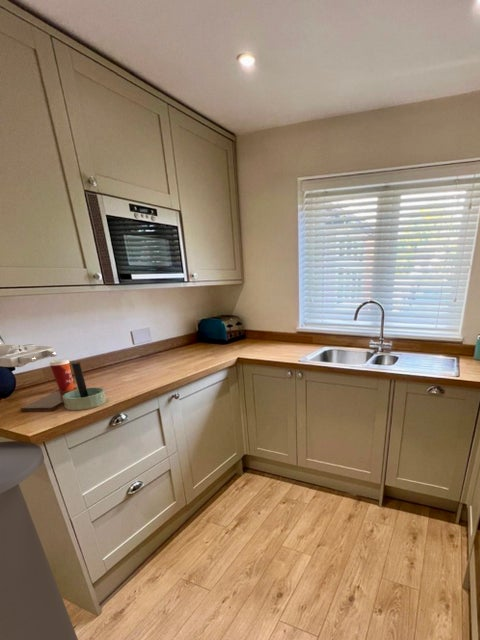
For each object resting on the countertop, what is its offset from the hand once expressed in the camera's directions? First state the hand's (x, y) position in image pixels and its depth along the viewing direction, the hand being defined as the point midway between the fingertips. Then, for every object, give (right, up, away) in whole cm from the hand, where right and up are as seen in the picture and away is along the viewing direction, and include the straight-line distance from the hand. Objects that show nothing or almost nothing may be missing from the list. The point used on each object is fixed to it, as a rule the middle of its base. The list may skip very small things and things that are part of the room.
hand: (44, 356), depth 131 cm
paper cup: (-8, -13, +23) cm, 28 cm away
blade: (+13, -18, +5) cm, 23 cm away
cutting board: (-2, -18, +8) cm, 20 cm away
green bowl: (+13, -19, +5) cm, 24 cm away
